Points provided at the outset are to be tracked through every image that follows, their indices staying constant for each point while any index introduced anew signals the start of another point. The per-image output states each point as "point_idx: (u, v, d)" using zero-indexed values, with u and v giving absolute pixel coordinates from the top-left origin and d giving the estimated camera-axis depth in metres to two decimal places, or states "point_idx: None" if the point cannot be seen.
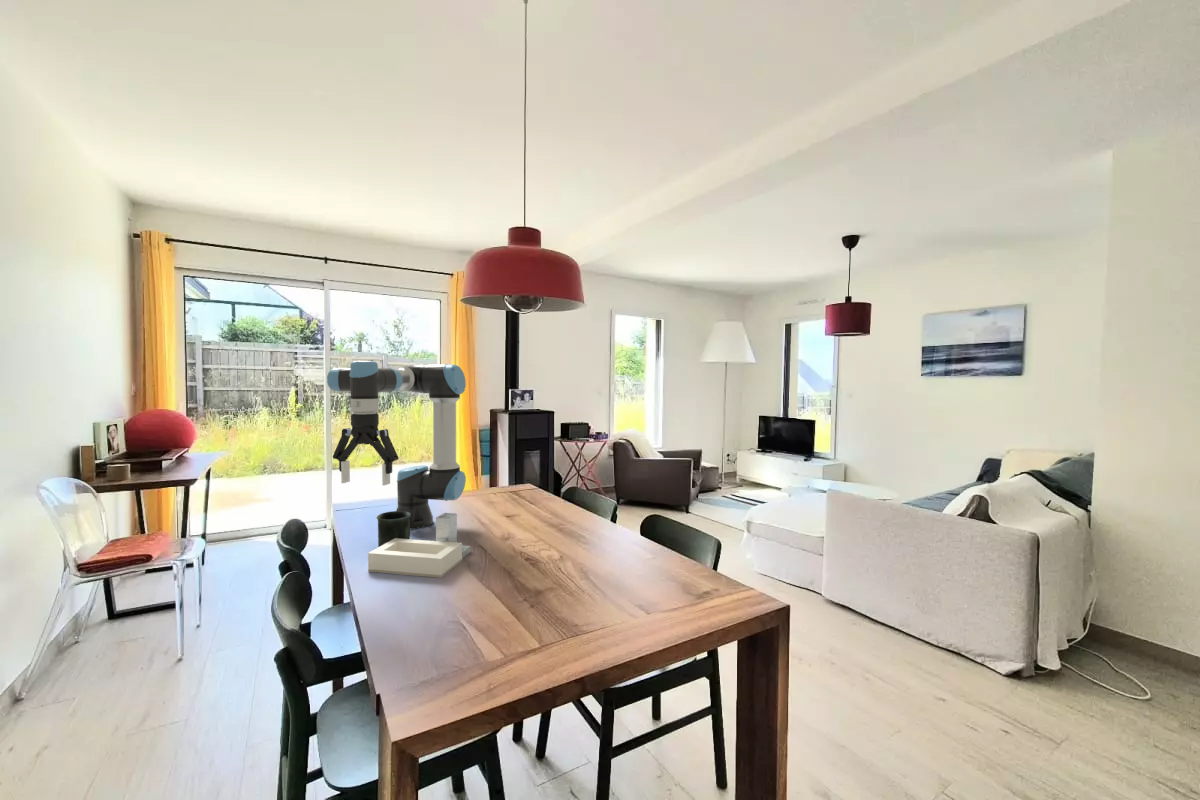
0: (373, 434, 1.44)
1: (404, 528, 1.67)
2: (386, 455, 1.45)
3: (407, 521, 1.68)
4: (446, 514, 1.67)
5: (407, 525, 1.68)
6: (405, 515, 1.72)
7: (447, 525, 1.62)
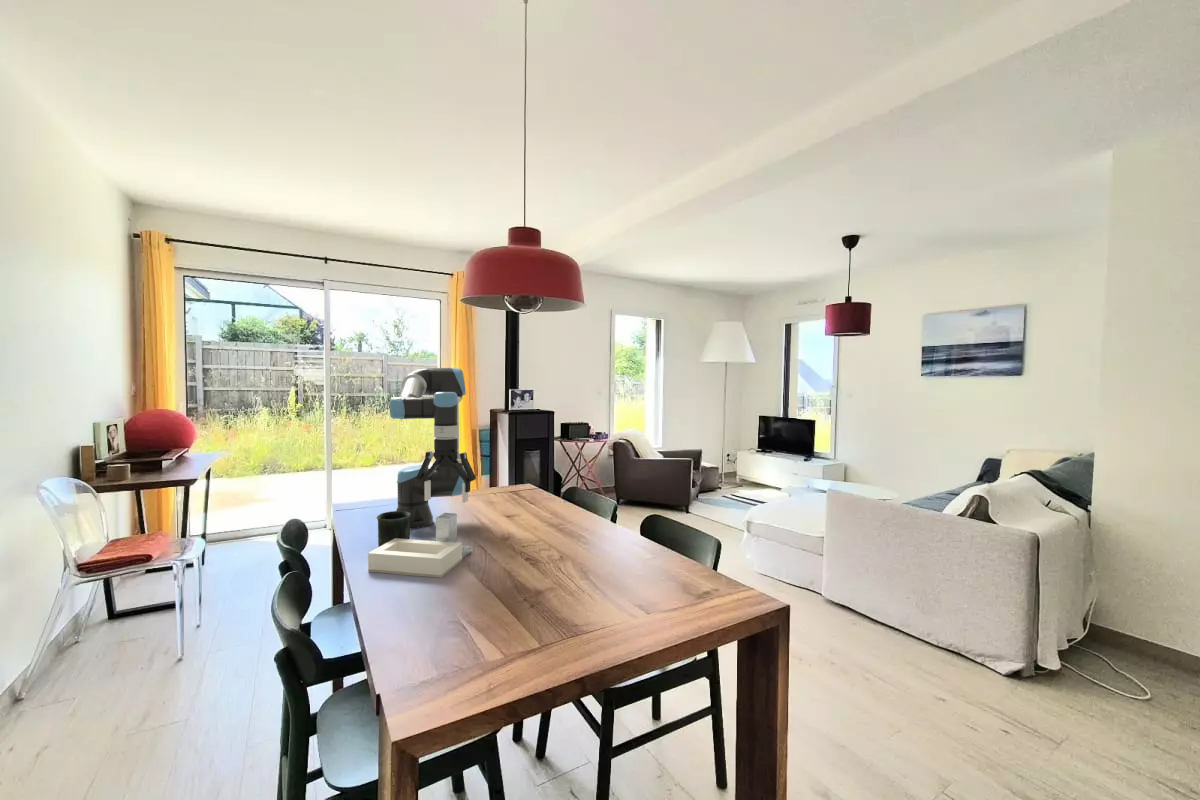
0: (454, 457, 1.62)
1: (404, 528, 1.67)
2: (465, 475, 1.63)
3: (407, 521, 1.68)
4: (446, 514, 1.67)
5: (407, 525, 1.68)
6: (405, 515, 1.72)
7: (447, 525, 1.62)
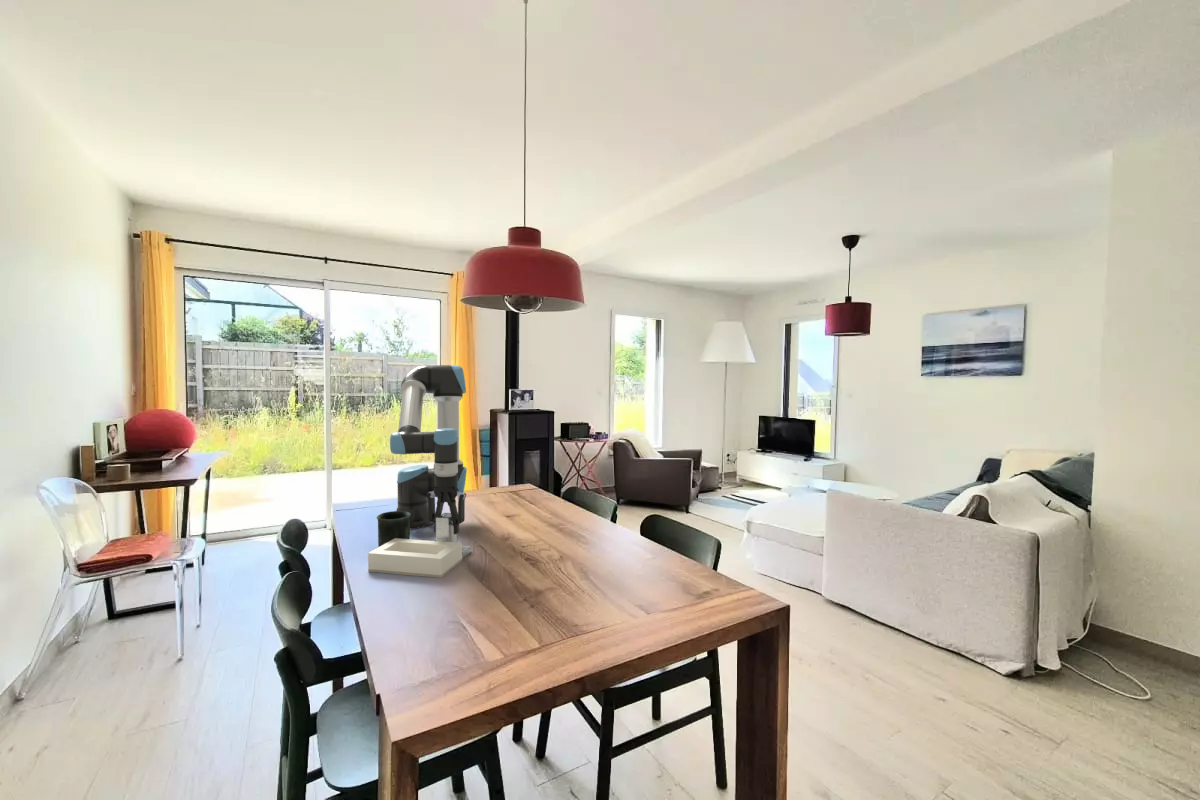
0: (453, 494, 1.63)
1: (404, 528, 1.67)
2: (456, 517, 1.64)
3: (407, 521, 1.68)
4: (446, 514, 1.67)
5: (407, 525, 1.68)
6: (405, 515, 1.72)
7: (447, 525, 1.62)
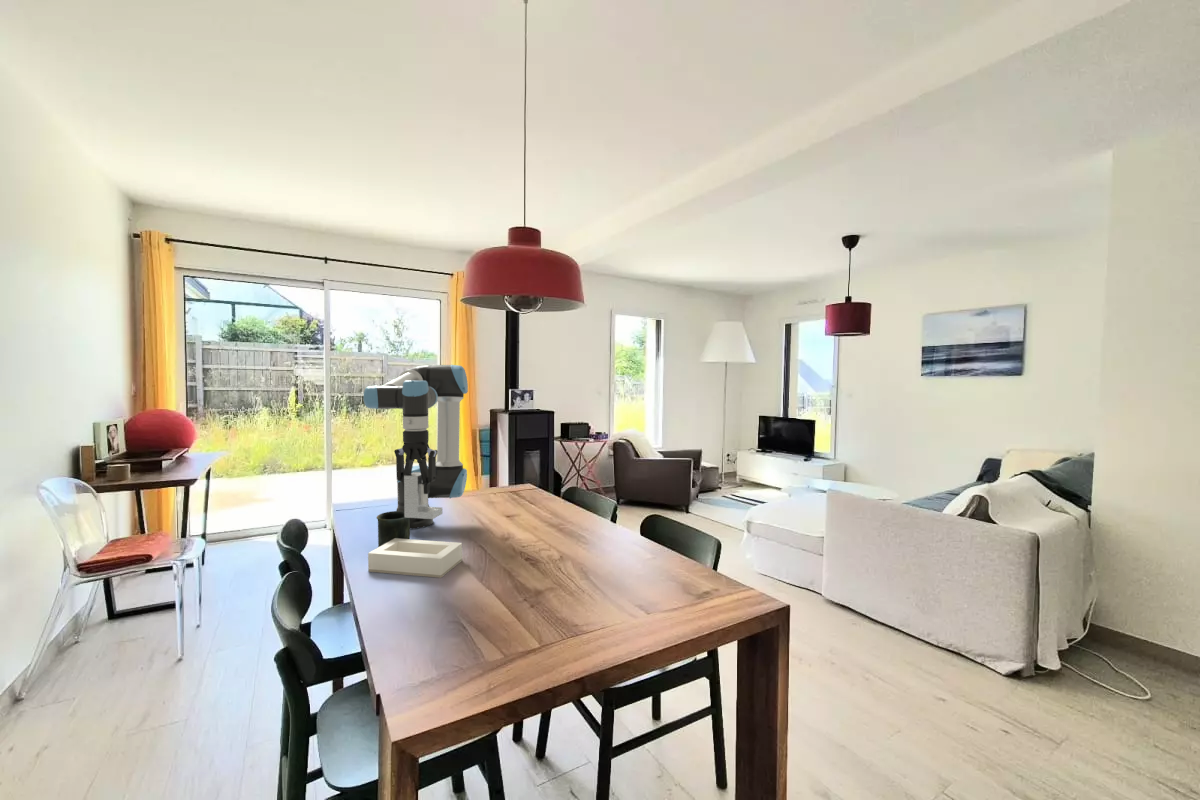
0: (423, 450, 1.51)
1: (404, 528, 1.67)
2: (426, 476, 1.52)
3: (407, 521, 1.68)
4: (416, 473, 1.55)
5: (407, 525, 1.68)
6: None
7: (416, 483, 1.50)
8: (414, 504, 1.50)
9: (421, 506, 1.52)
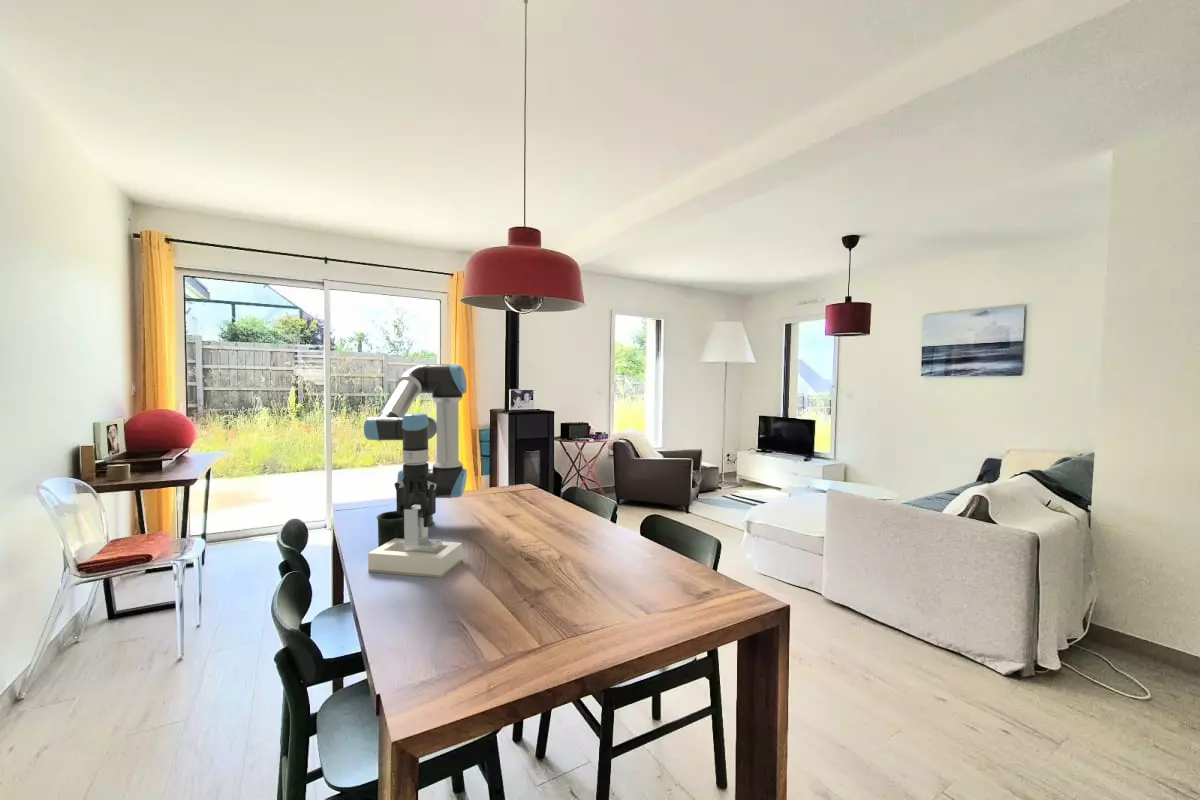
0: (423, 484, 1.52)
1: None
2: (426, 509, 1.53)
3: None
4: (416, 506, 1.55)
5: None
6: None
7: (416, 517, 1.51)
8: (414, 537, 1.51)
9: (421, 539, 1.53)
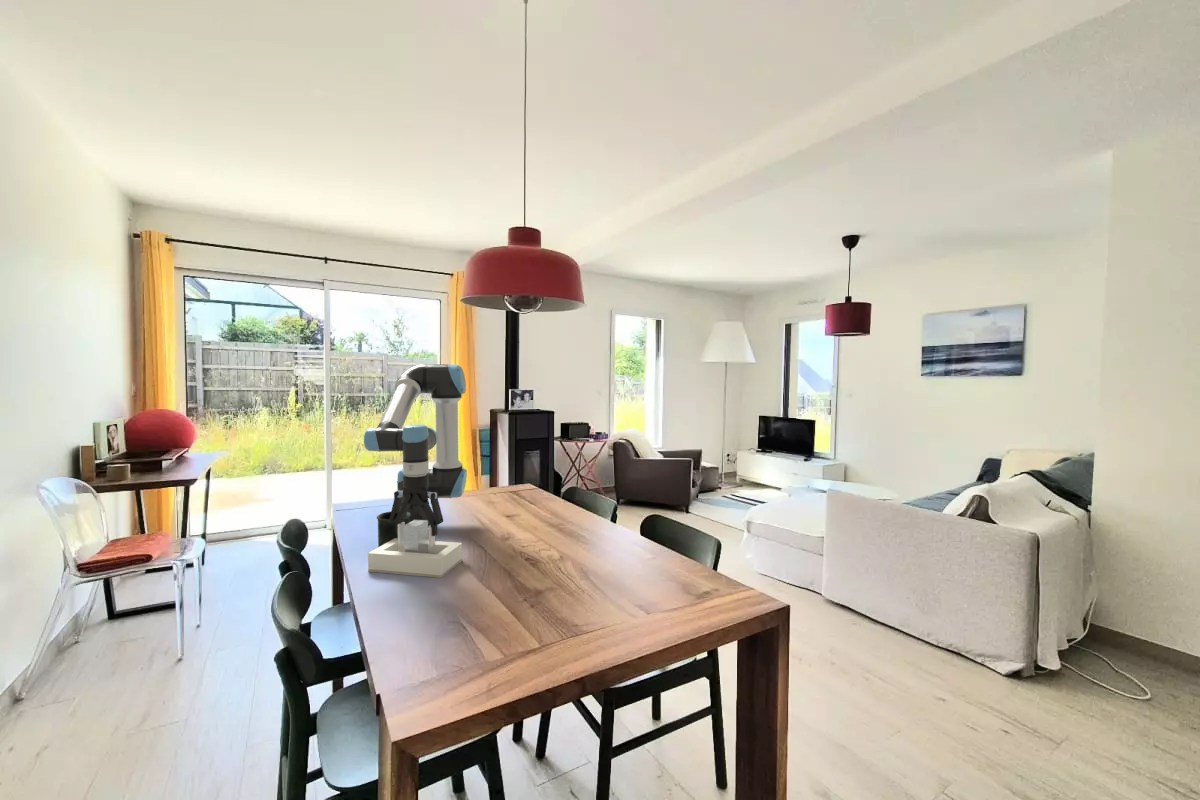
0: (424, 495, 1.52)
1: None
2: (433, 518, 1.53)
3: (407, 521, 1.68)
4: (416, 521, 1.55)
5: None
6: (405, 515, 1.72)
7: (416, 533, 1.51)
8: None
9: None
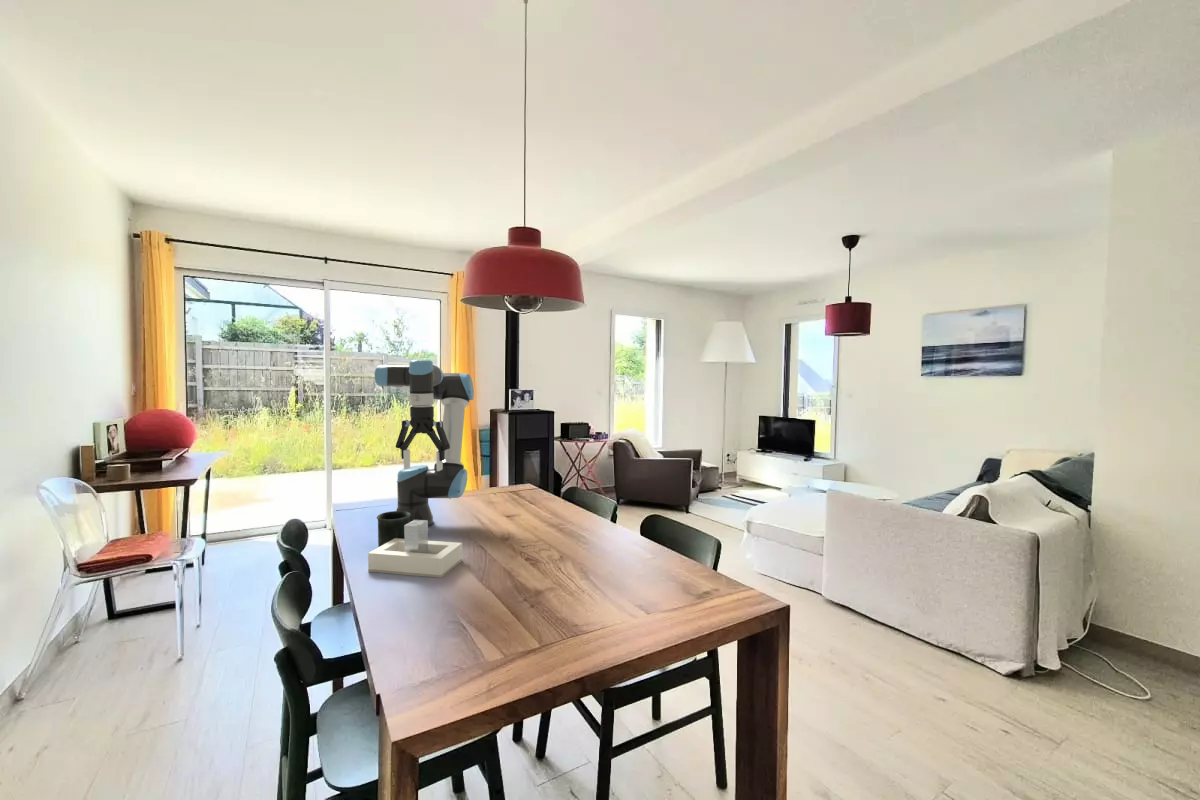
0: (430, 425, 1.64)
1: None
2: (440, 444, 1.65)
3: (407, 521, 1.68)
4: (416, 521, 1.55)
5: None
6: (405, 515, 1.72)
7: (416, 533, 1.51)
8: None
9: None
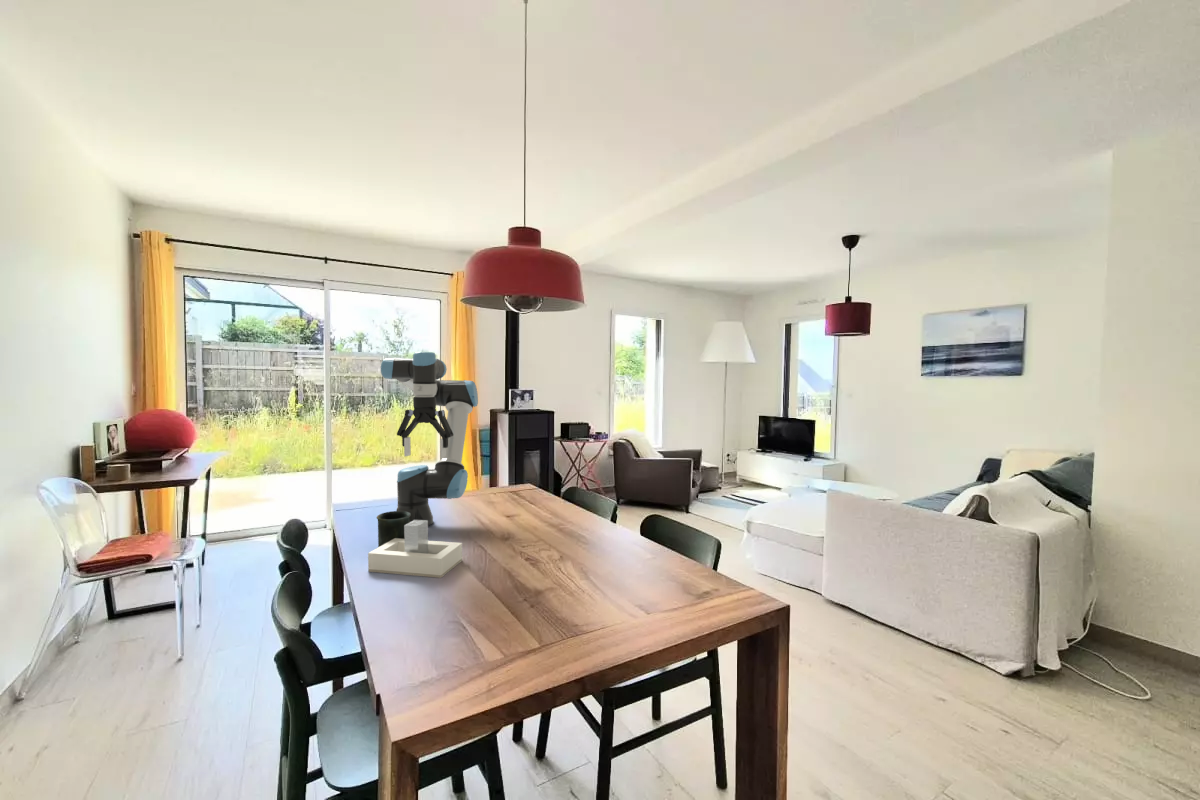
0: (432, 414, 1.70)
1: None
2: (443, 432, 1.70)
3: (407, 521, 1.68)
4: (416, 521, 1.55)
5: None
6: (405, 515, 1.72)
7: (416, 533, 1.51)
8: None
9: None
